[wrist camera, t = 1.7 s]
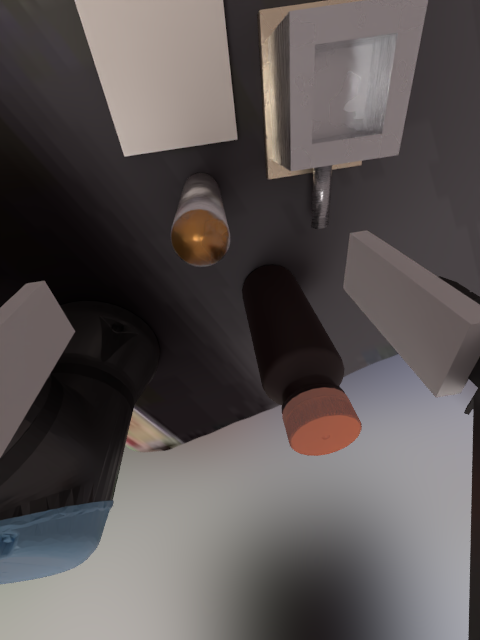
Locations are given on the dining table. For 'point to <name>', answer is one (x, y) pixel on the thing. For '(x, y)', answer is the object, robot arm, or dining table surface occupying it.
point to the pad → (162, 71)
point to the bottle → (298, 363)
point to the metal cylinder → (200, 223)
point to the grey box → (335, 86)
